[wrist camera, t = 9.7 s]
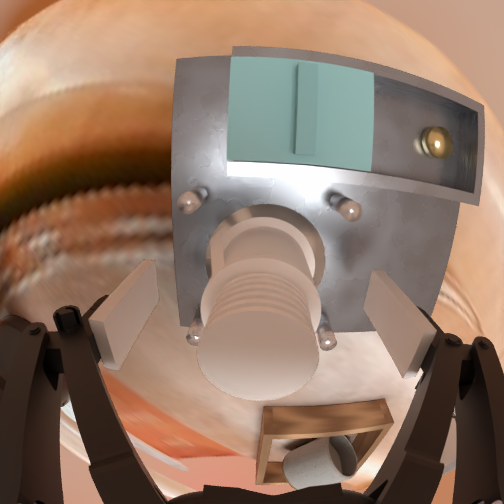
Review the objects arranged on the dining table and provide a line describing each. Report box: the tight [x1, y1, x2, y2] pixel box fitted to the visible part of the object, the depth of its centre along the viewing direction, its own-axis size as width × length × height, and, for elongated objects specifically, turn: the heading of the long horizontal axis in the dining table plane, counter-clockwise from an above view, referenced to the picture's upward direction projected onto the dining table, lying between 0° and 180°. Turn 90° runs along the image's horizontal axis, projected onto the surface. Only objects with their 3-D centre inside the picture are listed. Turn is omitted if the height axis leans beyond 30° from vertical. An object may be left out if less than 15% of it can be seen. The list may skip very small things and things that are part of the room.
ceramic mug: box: [282, 435, 358, 490], centre depth 27 cm, size 11×8×8 cm
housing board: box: [171, 46, 485, 351], centre depth 17 cm, size 22×20×5 cm
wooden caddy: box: [256, 399, 394, 485], centre depth 28 cm, size 15×17×4 cm
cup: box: [440, 414, 456, 475], centre depth 25 cm, size 8×8×10 cm
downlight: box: [197, 217, 321, 401], centre depth 14 cm, size 8×7×10 cm
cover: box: [226, 57, 374, 172], centre depth 13 cm, size 8×6×2 cm
